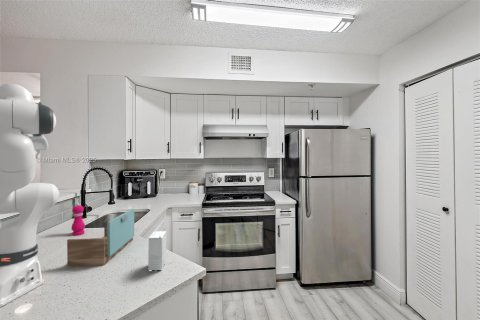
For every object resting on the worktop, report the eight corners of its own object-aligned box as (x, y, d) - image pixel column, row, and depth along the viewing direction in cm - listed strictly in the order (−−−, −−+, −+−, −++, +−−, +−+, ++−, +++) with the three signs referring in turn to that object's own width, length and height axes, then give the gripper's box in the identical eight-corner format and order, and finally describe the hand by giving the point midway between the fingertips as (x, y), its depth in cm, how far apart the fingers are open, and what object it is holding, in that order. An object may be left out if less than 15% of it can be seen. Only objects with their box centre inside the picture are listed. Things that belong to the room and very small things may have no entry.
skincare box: (153, 263, 103) (153, 231, 103) (166, 262, 104) (166, 230, 104) (147, 272, 95) (147, 237, 95) (162, 271, 96) (162, 236, 96)
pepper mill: (69, 234, 144) (68, 203, 144) (81, 231, 150) (81, 201, 150) (75, 236, 140) (74, 204, 140) (87, 233, 147) (87, 202, 147)
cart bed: (104, 265, 102) (104, 238, 102) (67, 266, 101) (67, 240, 101) (133, 239, 134) (132, 219, 134) (105, 240, 133) (105, 220, 133)
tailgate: (111, 256, 104) (111, 222, 104) (107, 256, 104) (107, 222, 104) (135, 235, 132) (135, 208, 132) (132, 235, 132) (132, 208, 132)
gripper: (-12, 133, 102) (-7, 163, 105) (47, 133, 116) (50, 159, 119) (-11, 131, 106) (-7, 160, 109) (46, 131, 120) (48, 156, 123)
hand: (23, 159), depth 114 cm, fingers open, 8 cm apart
